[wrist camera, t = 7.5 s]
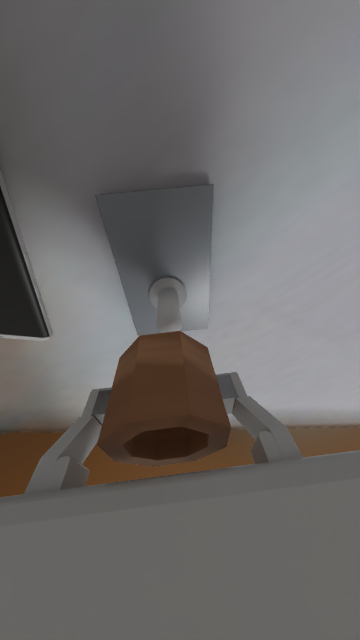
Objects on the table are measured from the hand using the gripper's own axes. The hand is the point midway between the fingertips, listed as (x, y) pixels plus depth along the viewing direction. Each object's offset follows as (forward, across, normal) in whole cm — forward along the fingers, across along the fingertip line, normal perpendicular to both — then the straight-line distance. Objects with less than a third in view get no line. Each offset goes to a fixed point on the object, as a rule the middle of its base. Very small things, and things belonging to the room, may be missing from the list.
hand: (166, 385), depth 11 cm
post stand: (+13, 0, -2) cm, 13 cm away
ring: (+2, 0, 0) cm, 2 cm away
